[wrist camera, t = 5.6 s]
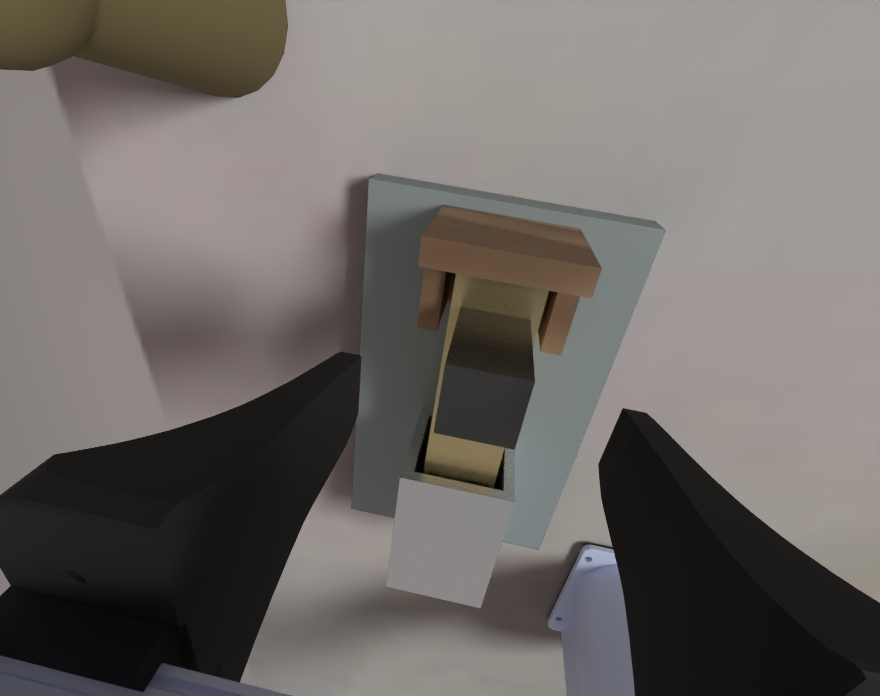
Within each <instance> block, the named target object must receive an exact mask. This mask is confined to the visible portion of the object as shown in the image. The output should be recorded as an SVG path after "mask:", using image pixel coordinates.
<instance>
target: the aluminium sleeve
mask: <svg viewBox="0 0 880 696" xmlns="http://www.w3.org/2000/svg"><path fill="white" fill-rule="evenodd" d="M432 417H433V410H429V409H424V408H421V411H420V414H419V418H418V421H417V424H416V427H415V430H414V434H413V437H412V440H411V443H410V447H409V450H408V453H407V456H406V460H405V463H404V466H403V469H402V473H401V476H400V481H399V489H398V497H397V504H396V512H395V520H394V528H393V535H392V543H391V551H390V559H389V567H388V574H387V582H386V587H390V588H395V589H399V590H403V591H407V592H412V593H416V594H420V595H425V596H429V597H433V598H438V599H442V600H446V601H451V602H455V603H459V604H464V605H468V606H472V607H476V608H481V605H482V602H483V599H484V596H485V593H486V590H487V587H488V584H489V581H490V578H491V575H492V572H493V569H494V566H495V563H496V559H497V556H498V553H499V550H500V547H501V544H502V541H503V538H504V535H505V532H506V529H507V526H508V523H509V520H510V517H511V514H512V510H513V507H514V504H515V450H513V449H508V448H504V452H503V455H502V459H501V463H500V466H499V470H498V473H497V477H496V480H495V484H494V487H493V488H488V487H483V486H479V485H474V484H469V483H465V482H460V481H455V480H451V479H446V478H441V477H437V476H432V475H427V474H423V471H424V465H425V459H426V453H427V447H428V441H429V435H430V429H431V423H432Z"/></svg>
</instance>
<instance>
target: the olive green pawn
mask: <svg viewBox="0 0 880 696" xmlns="http://www.w3.org/2000/svg"><path fill="white" fill-rule="evenodd" d="M287 29H288V22H287V12H286V3H285V0H0V69H5V70H28V71H33V70H37V69H41V68H44V67H48V66H52V65H54V64H56V63H59V62H61V61H63V60H65V59H67V58H70V57H72V56H75V57H79V58H83V59H86V60H90V61H93V62H97V63H101V64H104V65H108V66H111V67H115V68H119V69H122V70H126V71H129V72H133V73H137V74H140V75H144V76H147V77H151V78H155V79H158V80H162V81H165V82H169V83H173V84H176V85H180V86H183V87H187V88H191V89H194V90H198V91H202V92H205V93H209V94H212V95H216V96H225V97H241V96H244V95H247V94H249V93H252V92H255V91H257V90H259V89H260V88H261V87H262V86H263V85H264V84H265V83H266V82H267V81H268V80H269V79H270V78H271V77H272V76H273V75H274V73H275V71H276V69H277V67H278V65H279V63H280V60H281V58H282V56H283V54H284V49H285V42H286V36H287Z"/></svg>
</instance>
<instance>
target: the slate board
mask: <svg viewBox="0 0 880 696" xmlns="http://www.w3.org/2000/svg"><path fill="white" fill-rule="evenodd" d="M443 205H450V206H455V207H461V208H467V209H472V210H478V211H484V212H490V213H495V214H501V215H507V216H512V217H518V218H524V219H529V220H535V221H541V222H547V223H552V224H558V225H564V226H569V227H575V228H581V230H582V232H583V234H584V236H585V238H586V240H587V241H588V243H589V245H590V247H591V249H592V251H593V253H594V254H595V256H596V258H597V260H598V262H599V264H600V266H601V267H602V270H601V273H600V276H599V279H598V282H597V285H596V288H595V291H594V294H593V297H592V299H591V298H586V297H580V299H579V303H578V306H577V309H576V312H575V315H574V318H573V321H572V324H571V327H570V330H569V333H568V336H567V340H566V343H565V346H564V349H563V352H562V355H561V356H559V355H554V354H549V353H544V352H540V345H539V336H538V332H537V335H536V339H535V342H534V346H533V360H534V373H535V384H534V387H533V391H532V394H531V397H530V401H529V404H528V407H527V411H526V414H525V417H524V421H523V424H522V427H521V431H520V434H519V437H518V441H517V444H516V447H515V504H514V507H513V510H512V514H511V517H510V520H509V523H508V526H507V529H506V532H505V535H504V538H503V541H502V542H504V543H509V544H513V545H518V546H522V547H527V548H531V549H536V550H539V548H540V546H541V543H542V541H543V538H544V536H545V533H546V531H547V528H548V525H549V523H550V520H551V518H552V515H553V513H554V510H555V508H556V505H557V503H558V500H559V498H560V495H561V493H562V490H563V488H564V485H565V483H566V480H567V478H568V475H569V473H570V470H571V468H572V465H573V463H574V460H575V458H576V455H577V453H578V450H579V448H580V445H581V443H582V440H583V437H584V435H585V432H586V430H587V427H588V425H589V422H590V420H591V417H592V415H593V412H594V410H595V407H596V405H597V402H598V400H599V397H600V395H601V392H602V390H603V387H604V385H605V382H606V380H607V377H608V375H609V372H610V370H611V367H612V365H613V362H614V360H615V357H616V354H617V352H618V349H619V347H620V344H621V342H622V339H623V337H624V334H625V332H626V329H627V327H628V324H629V322H630V319H631V317H632V314H633V312H634V309H635V307H636V304H637V302H638V299H639V297H640V294H641V292H642V289H643V287H644V284H645V282H646V279H647V277H648V274H649V271H650V269H651V266H652V264H653V261H654V259H655V256H656V254H657V251H658V249H659V246H660V244H661V241H662V239H663V236H664V234H665V231H666V230H665V229H664V228H663V227H662V226H660V225H659V224H658V223H657V222H655V221H650V220H644V219H639V218H633V217H627V216H621V215H615V214H610V213H604V212H598V211H592V210H587V209H581V208H575V207H569V206H563V205H558V204H552V203H546V202H540V201H534V200H529V199H523V198H517V197H511V196H505V195H500V194H494V193H488V192H482V191H476V190H471V189H465V188H459V187H453V186H448V185H442V184H436V183H430V182H424V181H419V180H413V179H407V178H401V177H395V176H390V175H384V174H377V175H375V176H373V177H371V178H369V186H368V205H367V224H366V243H365V261H364V280H363V299H362V317H361V336H360V356H362V359H361V377H360V394H359V412H358V416H357V419H356V430H355V449H354V467H353V486H352V505H351V509H356V510H360V511H365V512H369V513H374V514H378V515H383V516H387V517H392V518H395V512H396V504H397V497H398V489H399V481H400V476H401V473H402V469H403V466H404V463H405V460H406V456H407V453H408V450H409V447H410V443H411V440H412V437H413V434H414V430H415V427H416V424H417V421H418V418H419V414H420V411H421V408H424V409H429V410H434V404H435V398H436V392H437V386H438V380H439V374H440V368H441V362H442V356H443V350H444V344H445V338H446V332H447V326H448V319H449V313H450V307H451V302H447V304H446V307H445V310H444V313H443V316H442V318H441V321H440V324H439V327H438V330H437V332H435V331H430V330H425V329H420V328H417V321H418V313H419V305H420V297H421V289H422V281H423V273H424V267H418V261H419V252H420V244H421V236H422V234H423V233H424V232H425V230H426V229H427V227H428V226H429V225H430V223H431V222H432V220H433V219H434V218H435V216H436V215H437V213H438V212H439V211H440V209H441V208H442V207H443Z"/></svg>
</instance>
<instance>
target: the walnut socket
mask: <svg viewBox="0 0 880 696" xmlns="http://www.w3.org/2000/svg"><path fill="white" fill-rule="evenodd" d="M418 267H424V273H423V281H422V289H421V297H420V305H419V313H418V321H417V328H420V329H425V330H430V331H435V332H437V330H438V327H439V324H440V321H441V318H442V316H443V313H444V310H445V307H446V304H447V302H451V301H452V295H453V289H454V283H455V277H456V274H462V275H467V276H472V277H478V278H483V279H489V280H494V281H499V282H505V283H510V284H516V285H521V286H526V287H532V288H537V289H543V290H548V291H549V293H548V297H547V300H546V304H545V307H544V311H543V314H542V318H541V321H540V325H539V328H538V336H539V345H540V352H544V353H549V354H554V355H559V356H561V355H562V352H563V349H564V346H565V343H566V340H567V336H568V333H569V330H570V327H571V324H572V321H573V318H574V315H575V312H576V309H577V306H578V303H579V299H580V297H586V298H591V299H592V297H593V294H594V291H595V288H596V285H597V282H598V279H599V276H600V273H601V270H602V267H601V266H600V264H599V262H598V260H597V258H596V256H595V254H594V253H593V251H592V249H591V247H590V245H589V243H588V241H587V240H586V238H585V236H584V234H583V232H582V230H581V228H575V227H569V226H564V225H558V224H552V223H547V222H541V221H535V220H529V219H524V218H518V217H512V216H507V215H501V214H495V213H490V212H484V211H478V210H472V209H467V208H461V207H455V206H450V205H443V207H442V208H441V209H440V211H439V212H438V213H437V215H436V216H435V218H434V219H433V220H432V222H431V223H430V225H429V226H428V227H427V229H426V230H425V232H424V233H423V234H422V236H421V244H420V252H419V261H418Z"/></svg>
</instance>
